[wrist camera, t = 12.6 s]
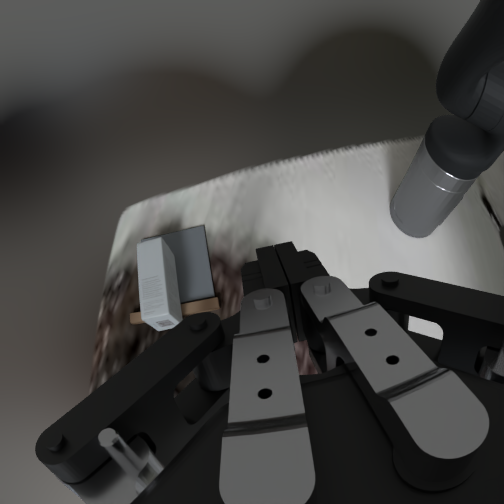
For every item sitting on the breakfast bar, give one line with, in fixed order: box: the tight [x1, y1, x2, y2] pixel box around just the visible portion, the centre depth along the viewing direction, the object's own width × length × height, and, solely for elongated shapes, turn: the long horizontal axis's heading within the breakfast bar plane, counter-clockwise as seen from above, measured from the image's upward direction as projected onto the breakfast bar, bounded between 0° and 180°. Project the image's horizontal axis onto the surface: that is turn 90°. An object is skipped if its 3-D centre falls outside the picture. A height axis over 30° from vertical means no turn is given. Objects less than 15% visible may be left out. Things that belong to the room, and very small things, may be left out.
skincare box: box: [137, 237, 183, 331], centre depth 45 cm, size 6×4×12 cm
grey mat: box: [141, 226, 215, 303], centre depth 50 cm, size 11×12×1 cm
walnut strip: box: [130, 297, 220, 324], centre depth 47 cm, size 14×2×1 cm, turn 101°
